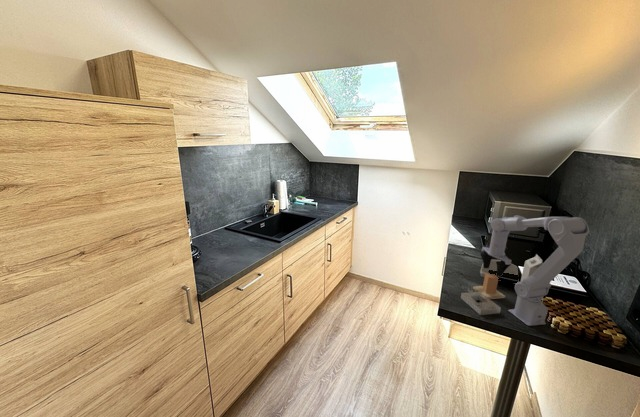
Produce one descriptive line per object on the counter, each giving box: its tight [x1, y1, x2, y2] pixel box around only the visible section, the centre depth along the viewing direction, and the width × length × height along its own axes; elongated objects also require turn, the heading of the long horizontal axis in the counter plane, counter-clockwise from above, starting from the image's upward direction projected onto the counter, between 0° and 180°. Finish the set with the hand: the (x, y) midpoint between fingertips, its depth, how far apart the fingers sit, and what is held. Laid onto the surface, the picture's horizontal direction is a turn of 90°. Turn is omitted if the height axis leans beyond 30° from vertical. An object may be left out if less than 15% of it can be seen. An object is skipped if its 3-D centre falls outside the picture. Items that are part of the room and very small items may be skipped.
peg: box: [482, 273, 499, 294], centre depth 121 cm, size 4×4×8 cm
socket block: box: [460, 291, 502, 316], centre depth 113 cm, size 12×9×2 cm
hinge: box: [479, 259, 519, 278], centre depth 136 cm, size 17×5×10 cm, turn 64°
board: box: [472, 285, 506, 300], centre depth 122 cm, size 9×9×1 cm
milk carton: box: [519, 253, 544, 299], centre depth 119 cm, size 7×7×19 cm
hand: (492, 271), depth 120 cm, fingers open, 7 cm apart
